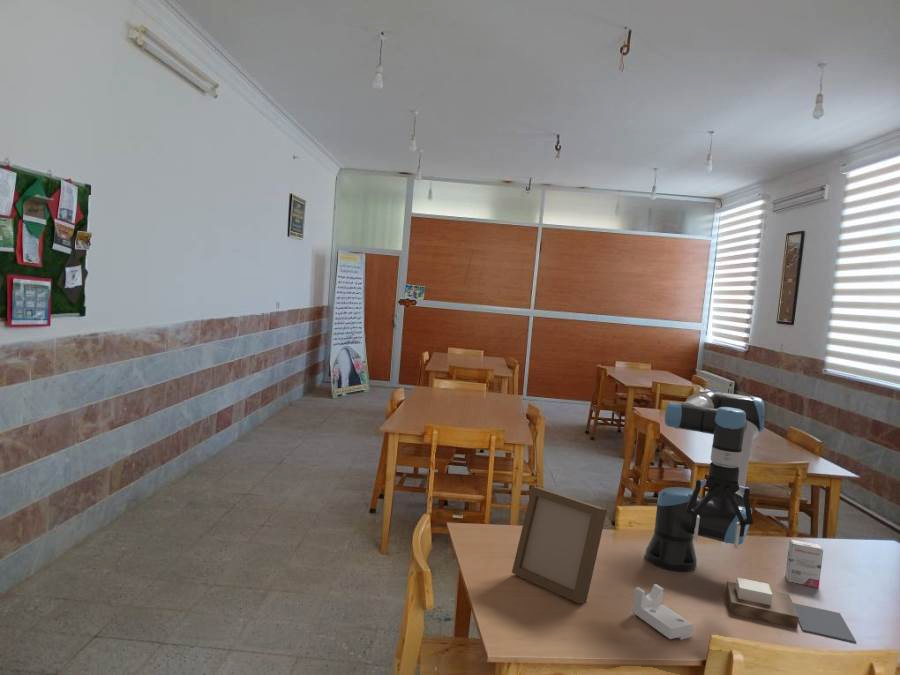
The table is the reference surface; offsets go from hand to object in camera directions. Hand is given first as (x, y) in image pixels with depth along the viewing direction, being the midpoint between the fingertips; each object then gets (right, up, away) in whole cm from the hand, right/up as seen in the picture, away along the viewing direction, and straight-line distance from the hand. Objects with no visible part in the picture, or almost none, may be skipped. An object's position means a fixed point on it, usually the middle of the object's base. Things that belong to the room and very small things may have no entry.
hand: (715, 542), depth 176 cm
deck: (+11, -17, -3) cm, 20 cm away
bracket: (-21, -16, -17) cm, 31 cm away
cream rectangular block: (+9, -14, -3) cm, 17 cm away
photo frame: (-43, -12, +1) cm, 45 cm away
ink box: (+34, -18, +18) cm, 42 cm away
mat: (+25, -19, -8) cm, 32 cm away
